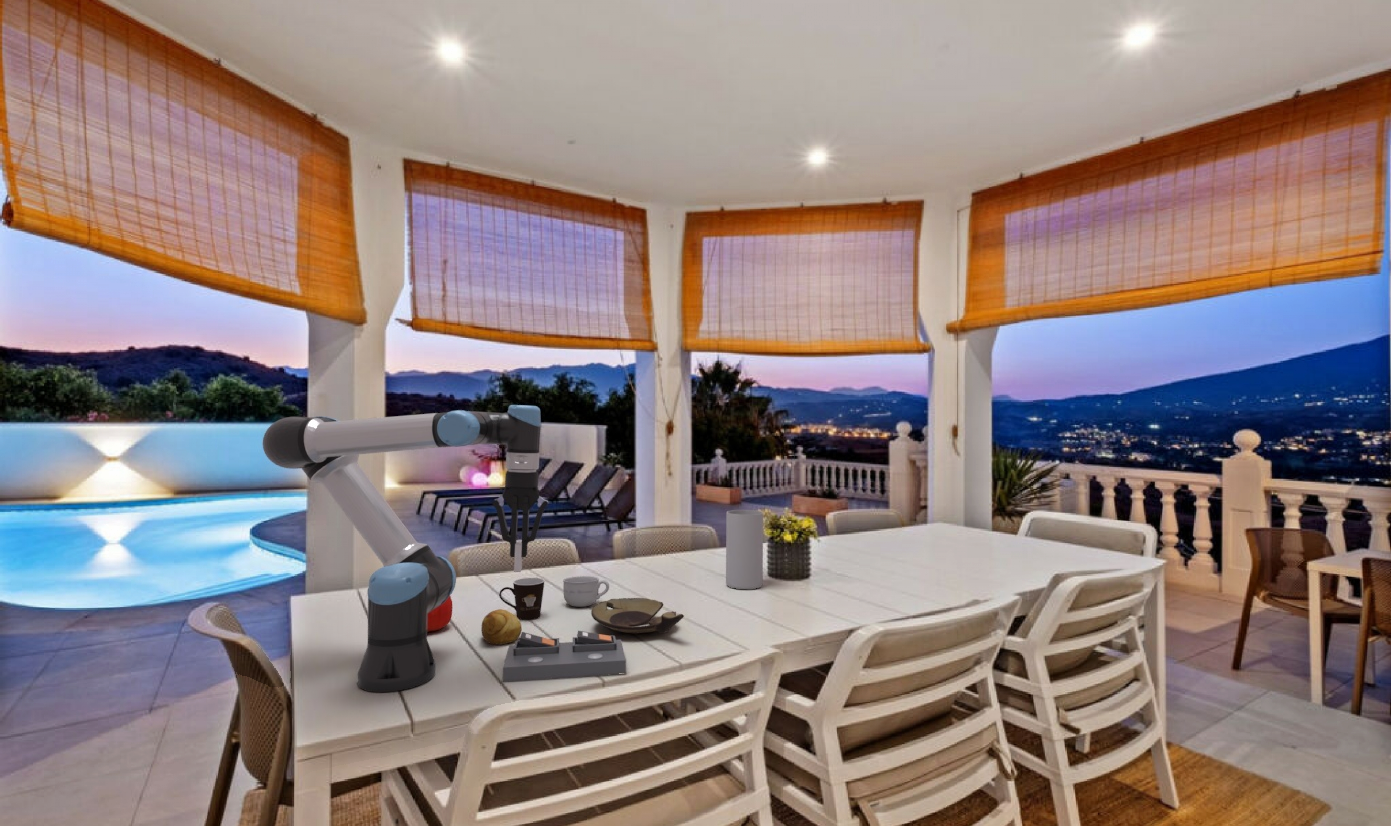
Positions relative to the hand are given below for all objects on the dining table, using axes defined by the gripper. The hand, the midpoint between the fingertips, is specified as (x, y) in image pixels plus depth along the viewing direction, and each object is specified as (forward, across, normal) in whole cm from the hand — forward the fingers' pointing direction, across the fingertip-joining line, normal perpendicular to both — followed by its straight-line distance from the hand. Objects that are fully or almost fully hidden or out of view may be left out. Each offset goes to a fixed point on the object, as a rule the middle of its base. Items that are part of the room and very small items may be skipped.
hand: (517, 570), depth 154 cm
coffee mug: (+21, -1, +32) cm, 38 cm away
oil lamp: (+20, +30, +16) cm, 39 cm away
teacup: (+20, +16, +42) cm, 49 cm away
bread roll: (+21, -5, +14) cm, 25 cm away
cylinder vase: (+19, +70, +59) cm, 93 cm away
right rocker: (+15, +18, -4) cm, 24 cm away
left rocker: (+16, +5, -5) cm, 17 cm away
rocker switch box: (+20, +12, -8) cm, 24 cm away
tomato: (+21, -26, +24) cm, 41 cm away
